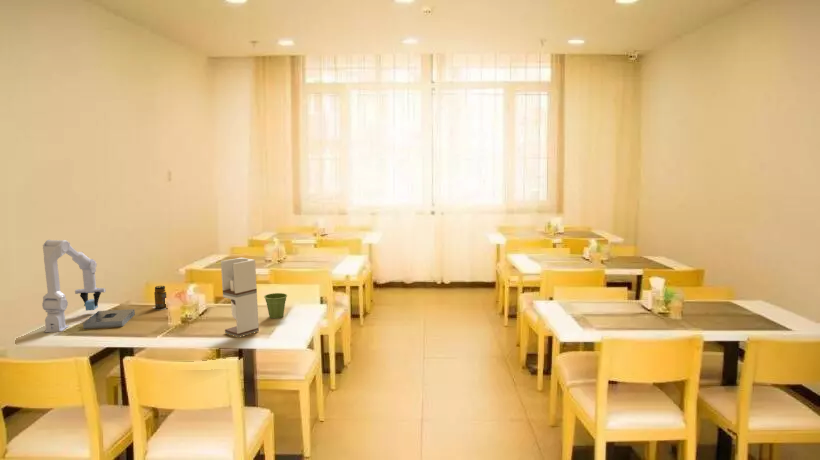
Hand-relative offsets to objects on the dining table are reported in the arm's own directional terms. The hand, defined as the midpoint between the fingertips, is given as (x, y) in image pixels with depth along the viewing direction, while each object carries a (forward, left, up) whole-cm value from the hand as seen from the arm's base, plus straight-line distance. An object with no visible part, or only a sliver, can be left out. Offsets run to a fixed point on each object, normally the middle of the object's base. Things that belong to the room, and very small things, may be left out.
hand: (91, 306), depth 321 cm
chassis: (-17, -14, -5) cm, 22 cm away
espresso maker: (-51, -83, -5) cm, 97 cm away
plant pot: (-27, -98, -5) cm, 102 cm away
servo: (0, 0, -2) cm, 2 cm away
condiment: (+5, -34, -5) cm, 35 cm away
